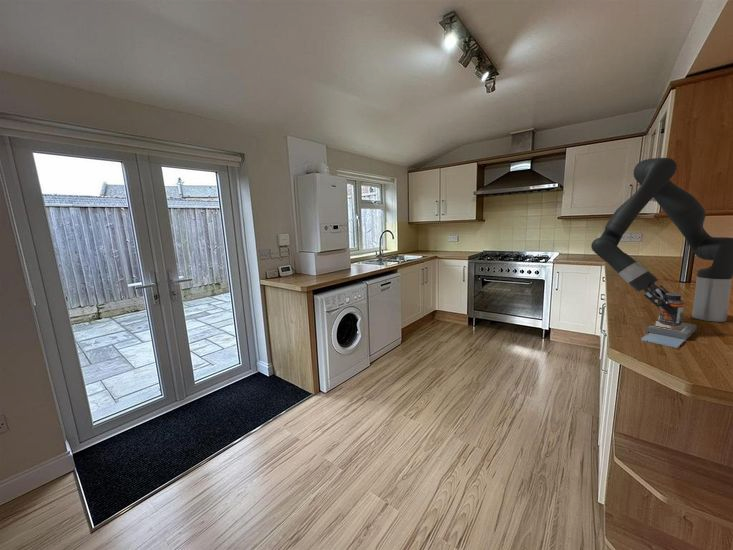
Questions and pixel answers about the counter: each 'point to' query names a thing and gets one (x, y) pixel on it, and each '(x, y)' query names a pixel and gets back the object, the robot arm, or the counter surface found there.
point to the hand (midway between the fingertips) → (677, 312)
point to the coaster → (663, 340)
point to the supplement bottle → (676, 304)
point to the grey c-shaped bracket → (684, 334)
